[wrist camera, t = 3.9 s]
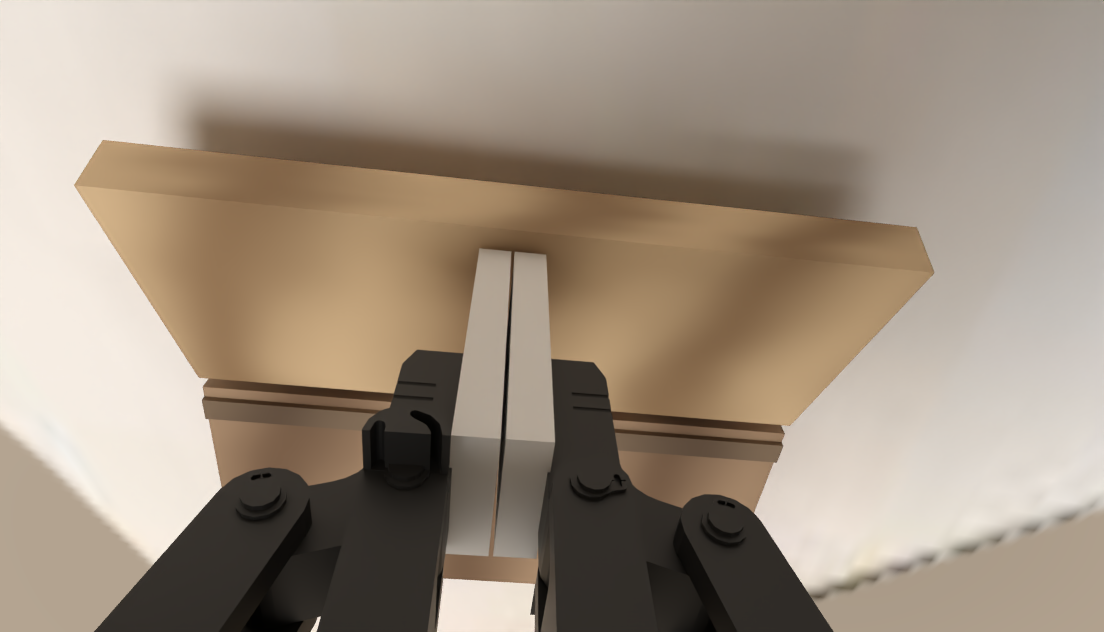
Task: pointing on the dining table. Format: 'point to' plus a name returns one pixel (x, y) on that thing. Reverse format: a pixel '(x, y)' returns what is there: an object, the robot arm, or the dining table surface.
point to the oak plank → (518, 226)
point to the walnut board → (642, 440)
